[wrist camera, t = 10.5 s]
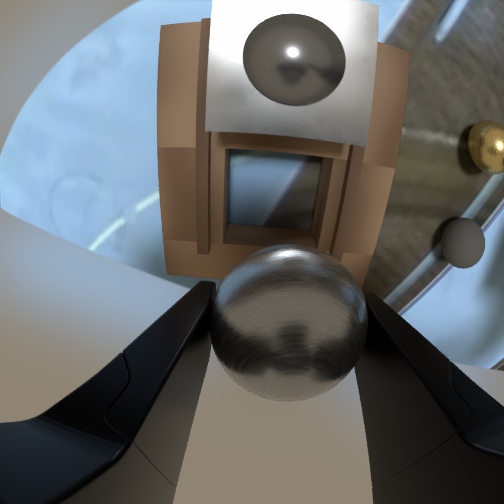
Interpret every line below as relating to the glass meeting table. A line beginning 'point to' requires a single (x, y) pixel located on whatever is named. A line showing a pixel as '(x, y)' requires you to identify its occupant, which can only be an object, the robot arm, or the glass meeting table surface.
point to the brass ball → (487, 146)
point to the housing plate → (219, 144)
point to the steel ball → (288, 322)
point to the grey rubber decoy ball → (463, 243)
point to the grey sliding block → (292, 68)
